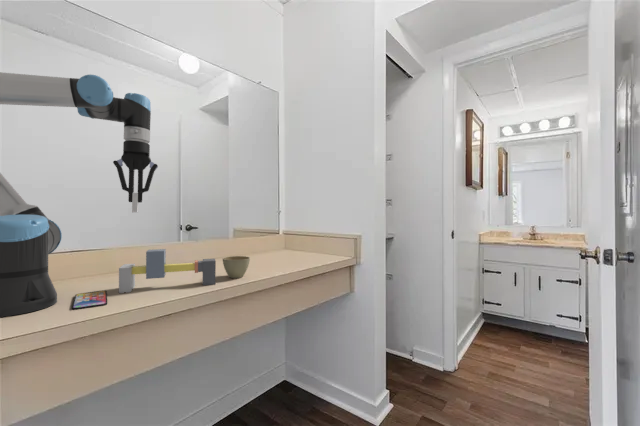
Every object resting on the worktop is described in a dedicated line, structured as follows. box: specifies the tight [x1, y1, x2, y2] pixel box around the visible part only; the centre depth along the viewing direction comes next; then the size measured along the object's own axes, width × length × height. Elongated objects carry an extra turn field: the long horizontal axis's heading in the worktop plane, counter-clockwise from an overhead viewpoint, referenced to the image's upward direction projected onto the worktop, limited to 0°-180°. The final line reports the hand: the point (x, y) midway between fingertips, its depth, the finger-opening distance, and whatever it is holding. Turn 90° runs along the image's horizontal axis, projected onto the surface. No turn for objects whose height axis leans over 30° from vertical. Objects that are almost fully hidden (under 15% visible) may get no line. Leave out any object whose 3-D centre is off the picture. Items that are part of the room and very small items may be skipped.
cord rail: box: [118, 258, 217, 294], centre depth 98 cm, size 28×7×8 cm, turn 113°
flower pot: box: [222, 255, 251, 279], centre depth 113 cm, size 10×10×7 cm
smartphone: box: [71, 290, 108, 311], centre depth 83 cm, size 7×1×15 cm
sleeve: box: [145, 248, 167, 280], centre depth 97 cm, size 5×5×8 cm
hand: (135, 212), depth 100 cm, fingers closed
